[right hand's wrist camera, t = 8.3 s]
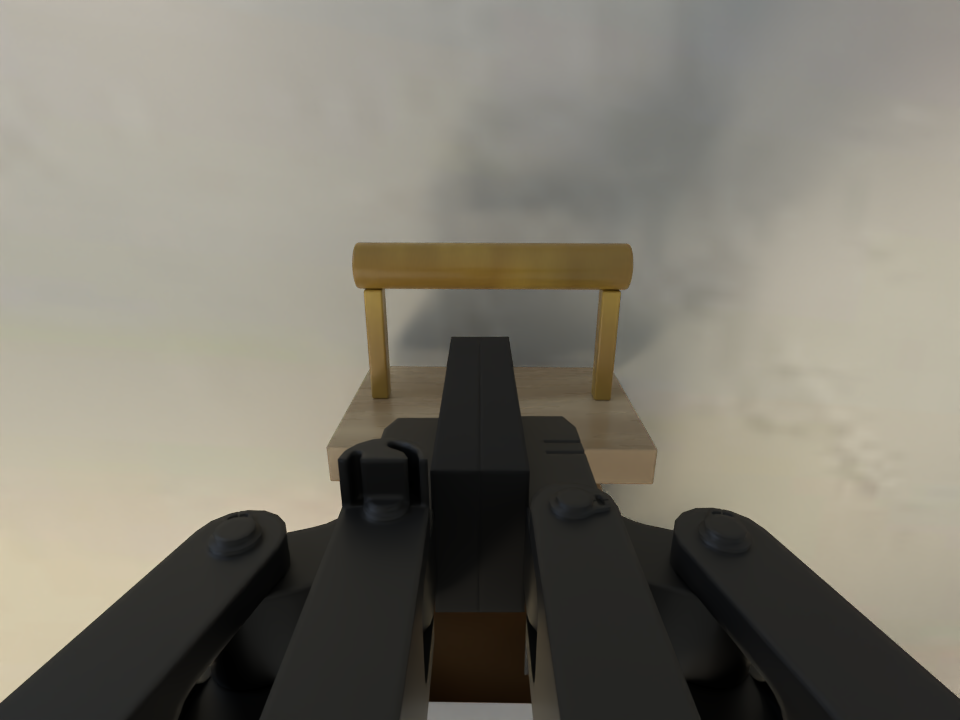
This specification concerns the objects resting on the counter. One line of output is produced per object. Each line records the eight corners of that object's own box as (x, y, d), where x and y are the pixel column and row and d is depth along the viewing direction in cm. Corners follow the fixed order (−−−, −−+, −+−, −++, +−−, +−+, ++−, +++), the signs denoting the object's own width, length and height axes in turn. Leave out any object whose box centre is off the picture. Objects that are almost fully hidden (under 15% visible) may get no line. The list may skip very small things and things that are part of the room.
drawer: (360, 230, 20) (305, 264, 14) (624, 231, 20) (682, 266, 14) (396, 703, 29) (371, 850, 23) (579, 705, 29) (604, 854, 23)
